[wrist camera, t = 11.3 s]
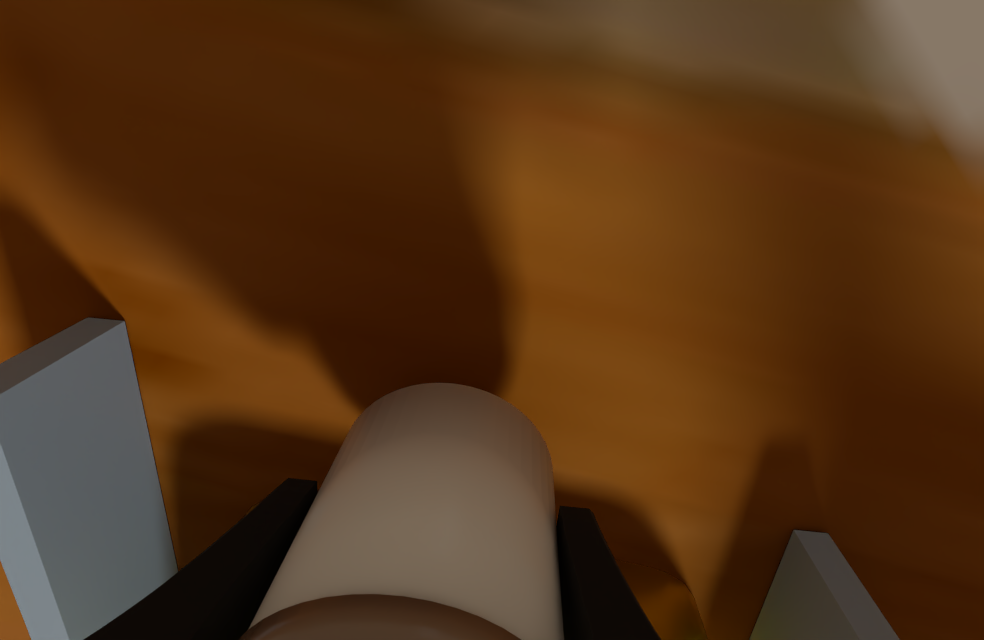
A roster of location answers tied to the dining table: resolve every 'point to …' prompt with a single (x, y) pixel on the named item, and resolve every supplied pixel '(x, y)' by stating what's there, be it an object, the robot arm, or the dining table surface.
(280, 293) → the dining table surface
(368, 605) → the jar
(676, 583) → the element tile
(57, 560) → the gray tray
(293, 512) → the robot arm
